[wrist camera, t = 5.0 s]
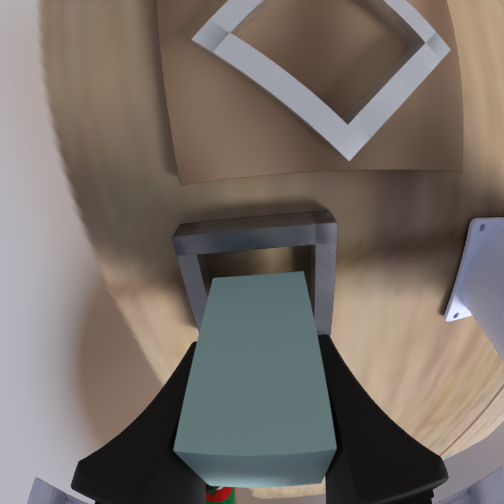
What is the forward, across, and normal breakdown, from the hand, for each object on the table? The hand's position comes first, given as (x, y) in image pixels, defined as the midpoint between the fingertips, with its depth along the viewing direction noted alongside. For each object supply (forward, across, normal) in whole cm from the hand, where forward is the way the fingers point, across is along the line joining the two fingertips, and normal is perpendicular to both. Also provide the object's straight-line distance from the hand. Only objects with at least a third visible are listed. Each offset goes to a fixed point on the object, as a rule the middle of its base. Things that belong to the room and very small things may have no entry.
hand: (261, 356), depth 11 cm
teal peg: (+3, 0, 0) cm, 3 cm away
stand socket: (+5, 0, 0) cm, 5 cm away
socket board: (+5, -4, -12) cm, 14 cm away
